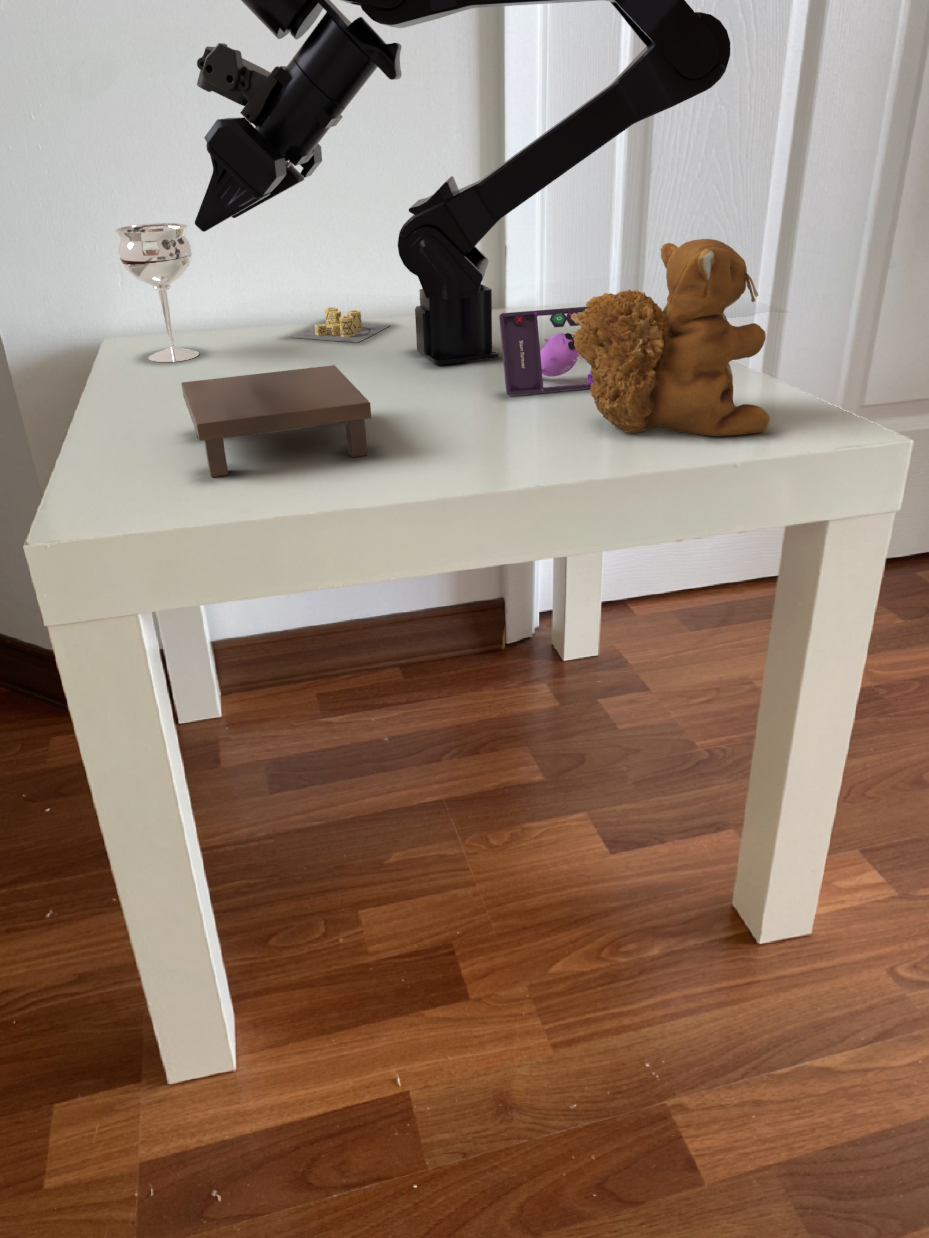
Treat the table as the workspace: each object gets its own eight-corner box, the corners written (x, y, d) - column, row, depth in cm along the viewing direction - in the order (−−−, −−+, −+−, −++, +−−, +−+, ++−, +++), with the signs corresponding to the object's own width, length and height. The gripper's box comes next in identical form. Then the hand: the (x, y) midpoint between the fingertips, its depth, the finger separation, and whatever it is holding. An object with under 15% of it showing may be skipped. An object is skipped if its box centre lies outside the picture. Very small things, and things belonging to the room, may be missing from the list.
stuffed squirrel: (779, 433, 71) (806, 246, 65) (599, 451, 69) (608, 258, 62) (720, 396, 80) (739, 227, 73) (559, 410, 77) (563, 237, 71)
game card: (502, 312, 79) (604, 304, 81) (486, 321, 84) (583, 313, 86) (510, 395, 80) (610, 385, 82) (494, 399, 85) (589, 389, 87)
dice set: (330, 324, 106) (328, 306, 106) (371, 327, 105) (370, 309, 104) (307, 335, 102) (305, 316, 101) (350, 338, 101) (348, 319, 100)
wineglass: (181, 366, 92) (159, 234, 86) (124, 361, 94) (98, 232, 88) (221, 349, 98) (202, 224, 92) (166, 345, 100) (144, 222, 94)
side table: (339, 413, 78) (334, 364, 76) (374, 456, 69) (370, 402, 67) (189, 432, 75) (180, 382, 73) (205, 480, 66) (196, 424, 64)
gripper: (275, 13, 89) (180, 147, 95) (212, -1, 72) (102, 163, 79) (365, 107, 92) (267, 231, 98) (324, 115, 76) (209, 262, 82)
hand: (215, 221), depth 89 cm, fingers open, 9 cm apart
